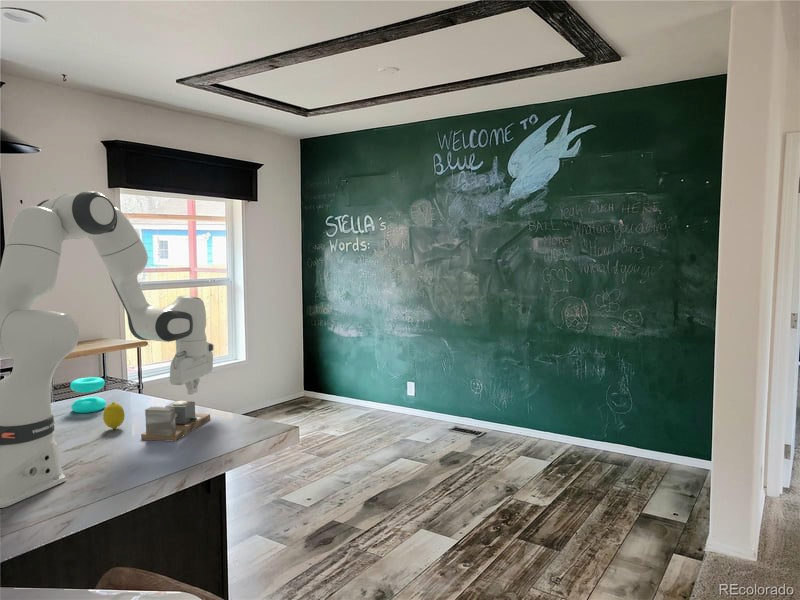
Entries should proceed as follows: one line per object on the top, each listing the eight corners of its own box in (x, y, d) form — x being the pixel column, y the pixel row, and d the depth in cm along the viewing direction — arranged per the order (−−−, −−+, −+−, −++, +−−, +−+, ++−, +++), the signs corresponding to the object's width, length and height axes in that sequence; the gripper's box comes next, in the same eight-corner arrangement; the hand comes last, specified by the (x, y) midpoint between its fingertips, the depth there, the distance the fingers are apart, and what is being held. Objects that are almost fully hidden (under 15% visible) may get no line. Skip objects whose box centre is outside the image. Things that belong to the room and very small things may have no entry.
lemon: (128, 426, 172) (127, 400, 171) (118, 432, 167) (116, 405, 166) (111, 426, 173) (109, 399, 172) (99, 431, 167) (98, 404, 166)
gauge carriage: (186, 427, 166) (186, 408, 165) (161, 426, 167) (160, 407, 166) (201, 418, 174) (200, 400, 174) (176, 417, 175) (176, 399, 175)
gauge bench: (175, 441, 159) (174, 410, 158) (141, 439, 160) (140, 409, 160) (210, 418, 180) (209, 391, 179) (179, 417, 181) (178, 390, 180)
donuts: (73, 384, 182) (67, 379, 190) (75, 415, 183) (68, 409, 191) (108, 380, 189) (100, 374, 196) (109, 410, 189) (102, 403, 197)
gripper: (183, 354, 166) (185, 402, 167) (216, 344, 187) (217, 386, 188) (163, 354, 167) (164, 401, 168) (197, 343, 188) (198, 386, 189)
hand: (192, 393), depth 178 cm, fingers closed
